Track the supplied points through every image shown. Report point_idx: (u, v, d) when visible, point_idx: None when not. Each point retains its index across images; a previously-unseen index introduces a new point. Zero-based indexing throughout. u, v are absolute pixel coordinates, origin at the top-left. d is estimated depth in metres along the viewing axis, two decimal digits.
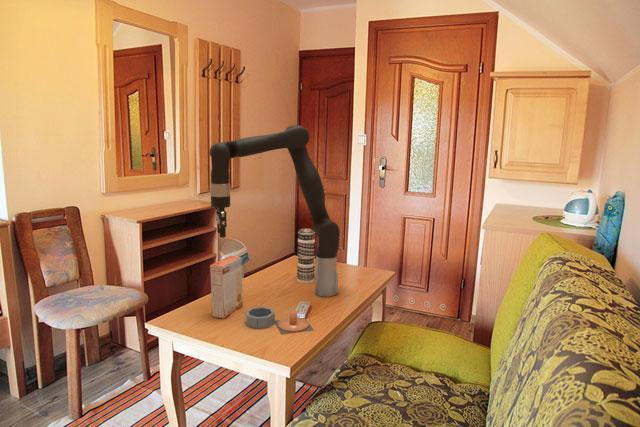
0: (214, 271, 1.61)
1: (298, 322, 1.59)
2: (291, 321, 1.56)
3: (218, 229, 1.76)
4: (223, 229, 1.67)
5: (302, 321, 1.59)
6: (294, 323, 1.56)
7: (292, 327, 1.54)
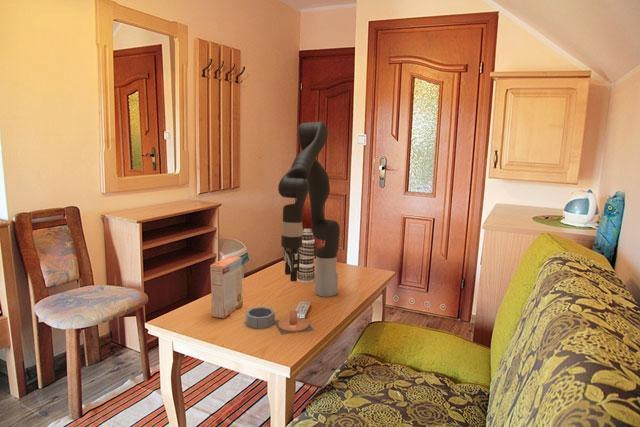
0: (214, 271, 1.61)
1: (298, 322, 1.59)
2: (291, 321, 1.56)
3: (286, 270, 1.60)
4: (295, 272, 1.52)
5: (302, 321, 1.59)
6: (294, 323, 1.56)
7: (293, 327, 1.54)
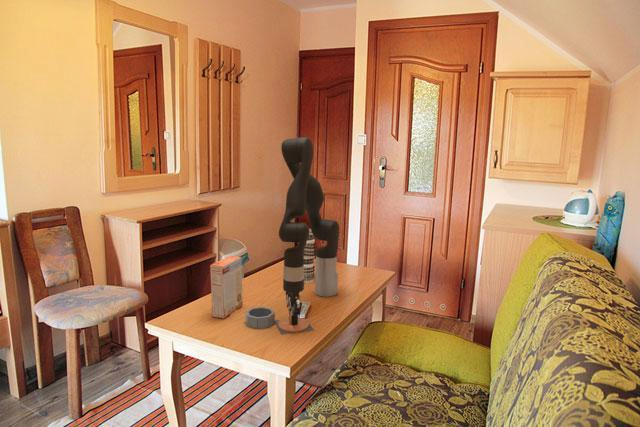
0: (214, 271, 1.61)
1: (298, 322, 1.58)
2: None
3: None
4: (296, 316, 1.55)
5: (302, 321, 1.59)
6: None
7: (293, 327, 1.54)
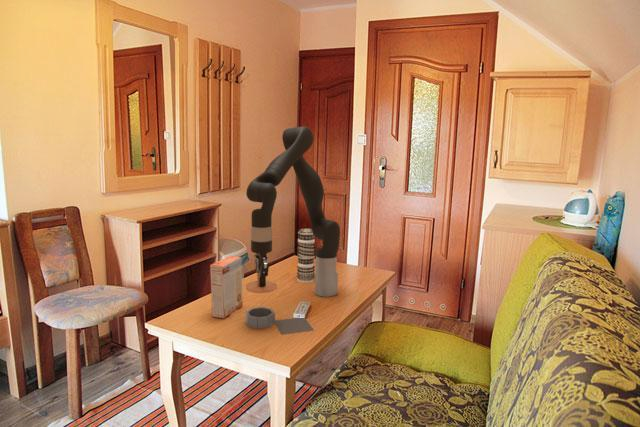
0: (214, 271, 1.61)
1: (266, 284, 1.58)
2: None
3: None
4: (263, 278, 1.54)
5: (270, 284, 1.59)
6: None
7: (260, 289, 1.53)
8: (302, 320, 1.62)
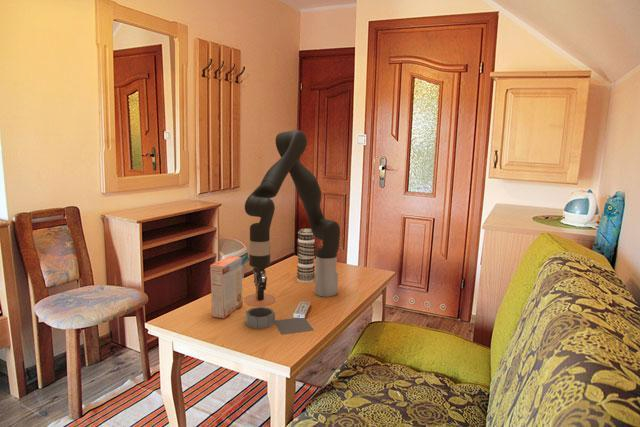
0: (214, 271, 1.61)
1: (264, 298, 1.59)
2: (257, 296, 1.57)
3: None
4: (261, 291, 1.55)
5: (269, 297, 1.60)
6: None
7: (258, 302, 1.55)
8: (302, 320, 1.62)
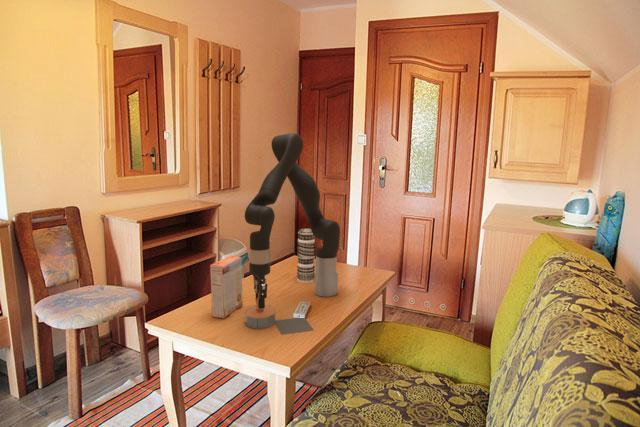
0: (214, 271, 1.61)
1: (265, 309, 1.60)
2: (257, 308, 1.58)
3: None
4: (262, 300, 1.55)
5: (269, 308, 1.61)
6: (260, 310, 1.58)
7: (258, 314, 1.55)
8: (302, 320, 1.62)
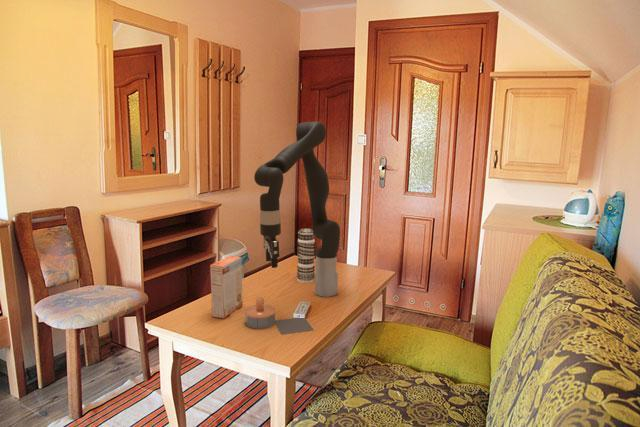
0: (214, 271, 1.61)
1: (265, 309, 1.60)
2: (257, 308, 1.58)
3: (267, 257, 1.65)
4: (275, 259, 1.56)
5: (269, 308, 1.61)
6: (260, 310, 1.58)
7: (258, 314, 1.55)
8: (302, 320, 1.62)
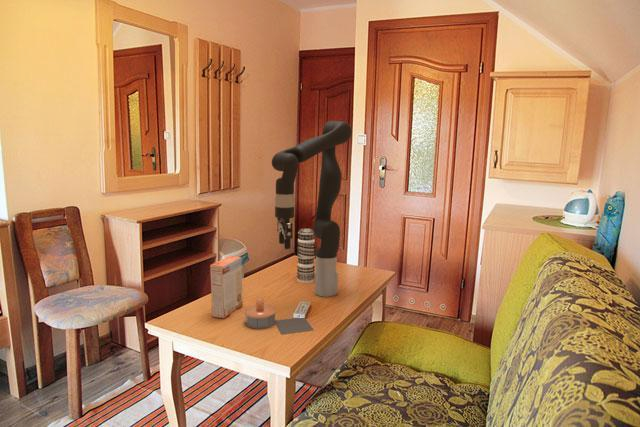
0: (214, 271, 1.61)
1: (265, 309, 1.60)
2: (257, 308, 1.58)
3: (280, 240, 1.73)
4: (288, 240, 1.64)
5: (269, 308, 1.61)
6: (260, 310, 1.58)
7: (258, 314, 1.55)
8: (302, 320, 1.62)
